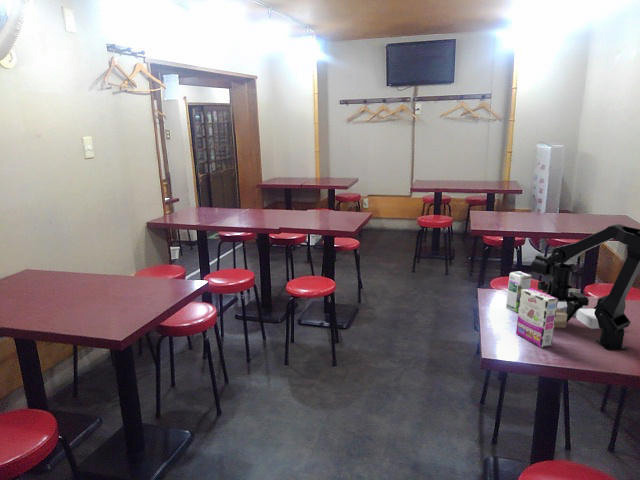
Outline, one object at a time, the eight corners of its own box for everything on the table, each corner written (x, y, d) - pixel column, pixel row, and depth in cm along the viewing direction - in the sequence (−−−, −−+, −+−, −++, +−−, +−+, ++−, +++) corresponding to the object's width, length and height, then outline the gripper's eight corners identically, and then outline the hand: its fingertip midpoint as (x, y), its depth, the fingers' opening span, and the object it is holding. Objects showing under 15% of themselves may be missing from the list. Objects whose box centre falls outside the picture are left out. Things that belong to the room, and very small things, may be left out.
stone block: (559, 320, 169) (588, 317, 167) (558, 308, 168) (587, 305, 166) (550, 309, 181) (577, 306, 178) (548, 297, 180) (576, 294, 177)
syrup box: (505, 307, 176) (508, 272, 173) (516, 305, 179) (519, 270, 175) (516, 312, 171) (520, 276, 168) (528, 310, 174) (532, 274, 170)
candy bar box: (552, 345, 146) (559, 298, 142) (541, 348, 144) (547, 300, 140) (526, 331, 156) (531, 287, 152) (515, 333, 154) (519, 289, 150)
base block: (615, 328, 158) (617, 318, 157) (590, 329, 158) (592, 319, 157) (599, 318, 167) (601, 308, 166) (575, 318, 166) (577, 308, 165)
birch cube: (565, 327, 159) (567, 314, 158) (551, 327, 159) (553, 314, 158) (558, 321, 164) (560, 308, 162) (544, 321, 164) (546, 308, 163)
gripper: (575, 273, 165) (569, 312, 169) (524, 273, 165) (519, 312, 169) (592, 283, 154) (586, 325, 158) (538, 283, 154) (533, 325, 158)
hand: (555, 321), depth 161 cm, fingers open, 8 cm apart
